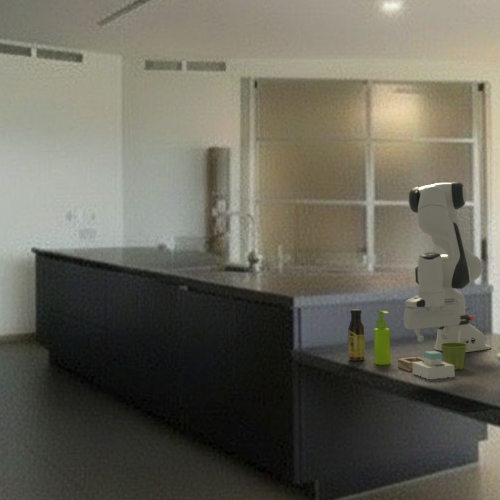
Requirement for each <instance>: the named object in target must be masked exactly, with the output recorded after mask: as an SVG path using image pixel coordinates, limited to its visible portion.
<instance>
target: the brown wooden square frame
mask: <svg viewBox="0 0 500 500" xmlns="http://www.w3.org/2000/svg"><path fill="white" fill-rule="evenodd" d="M422 360H424V357H420V356H419V357H418V356H414V357H413V356H412V357H403V358H398V359H397V366H398V368H399V369H402V370H405V371H407V372H413V367H412V362H421V361H422Z"/></svg>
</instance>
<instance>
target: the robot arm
mask: <svg viewBox="0 0 500 500" xmlns="http://www.w3.org/2000/svg"><path fill="white" fill-rule="evenodd" d="M467 195H468V193H467V189H466V188H465V187H464V184H463V183H462V182H458V181H452V182H436V183H433V184H432V183H431V184H427V185H423V186H416V187H413V188H412V189H410V191H409V194H408V204H409V205H408V206H409V207H410V209H411V211H412V213H416V214H417V221H418V222H417V223H418V227H419V229H420V230H421V231H422V232H423V233H425V235H428V236H430V237H431V240H432V242H433V244H434V245H435V246H436V247H438V248H439V249H442V250H443V251H444V252H445V253H446V254H445V253H442V254H441V253H437V252H424V253H421V254H420V255H419V256H418V261H417V266H416V267H415V268H414V272H415V273H414V274H415V283H416V284H417V285H418V289H417V290H418V291H417V294H416V295H415V296H413V297H410V298H408V299H407V300H405V301H404V304H405V309H404V310H403V326H404V328H405V329H407V330H413V332H414V334H415V336H416V339H417V342H419V343H420V342H424V341H425V339H424V338H425V337H424V336H423V335H422V334H421V332H422V330H421V329H430V328H431V329H433V328H437V332H436V333H437V334H436V342H435V345H434V348H433V349H434V350H435V351H438V352H443V350H442V347H441V346H440V344H443V343H465V344H467V347H466V350H465V353H469V352H477V351H484V350H490V349H492V347H491V345H490V344H487V343H486V341H485V340H486V339H485V336H484V334H483V332H482V331H481V330H479V329H477V328H476V326H474V325H472V324H471V322H474V320H475V316H474V315H467V314H466V297H465V295H464V294H463V293H462V292H461V291H460V290H462V289H464V288H465V287H467V286H468V284H469V283H471V282H470V281H475V280H478V279H479V278H480V276H481V274H482V271H483V263H482V261H481V259H480V258H479V256H477V255H475V254H474V253H473V252H471V251H470V250H469V249H468V248H467V246H466V245H465V244H464V242H463V239H462V236H461V232H460V225H459V218H458V214H457V210H459V209H461V208H463V207H464V206H465V204H466V201H467V197H468V196H467ZM457 289H458V290H457ZM470 321H471V322H470Z"/></svg>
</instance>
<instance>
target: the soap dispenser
mask: <svg viewBox="0 0 500 500" xmlns="http://www.w3.org/2000/svg"><path fill="white" fill-rule="evenodd" d="M377 313H378V318H377V319H376V328H373V349H374V352H373V353H374V356H373V357H374V364H375V365H379V366H385V365H390V364H391V337H390V328H388V327H387V324H386V323H387V322H386V321H387V320H386V318H384V315H389V314H390V312H389V311H388V310H377V311H376V314H377Z"/></svg>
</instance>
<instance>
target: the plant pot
mask: <svg viewBox="0 0 500 500" xmlns="http://www.w3.org/2000/svg"><path fill="white" fill-rule="evenodd" d="M440 346H441V347H442V350H443V351H442V355H443V362H446V363H449V364H452V365H454V371H456V370H463V369H464V365H465V357H466V356H465V355H466V352H465V350H466V347H467V344H465V343H443V344H440Z"/></svg>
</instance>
